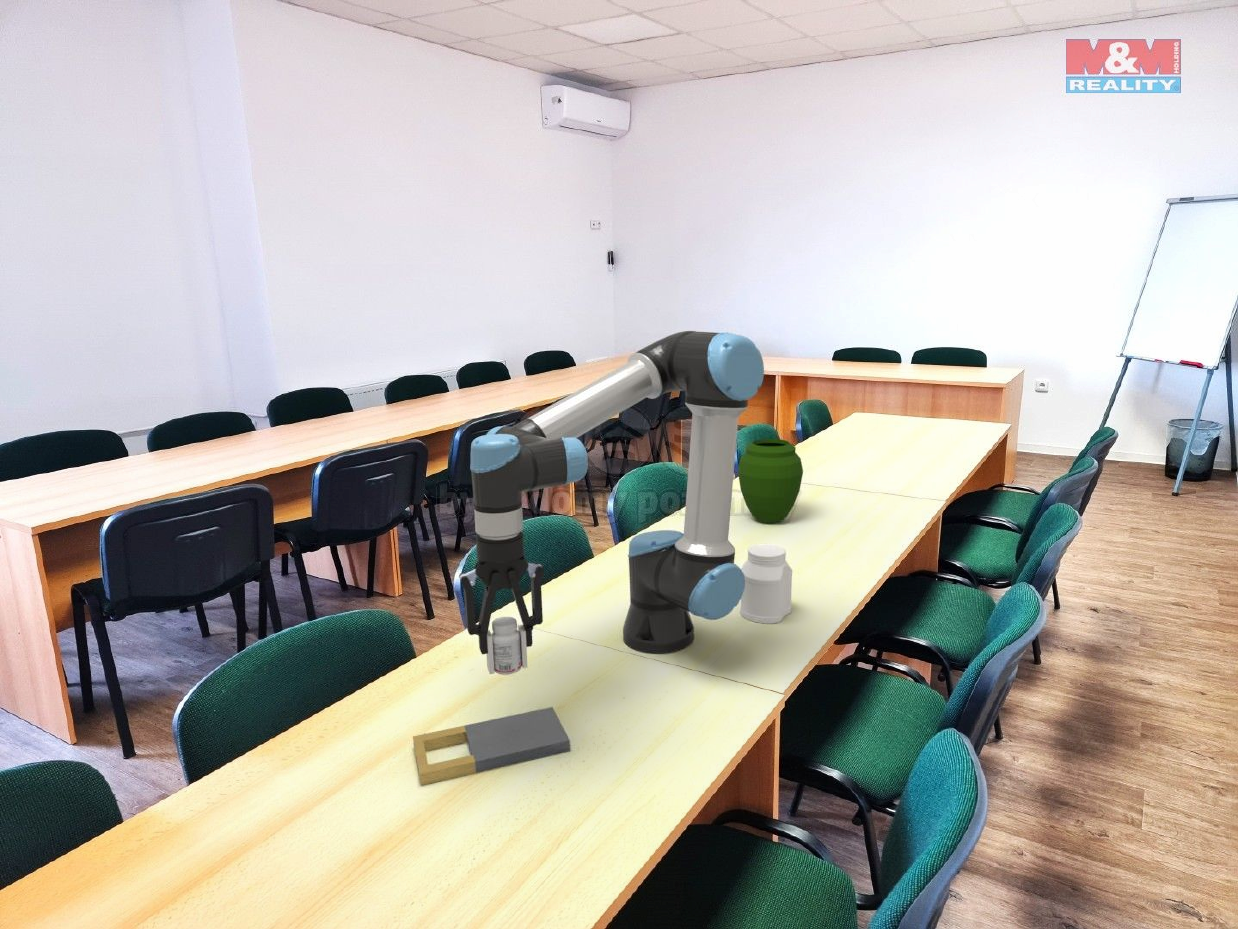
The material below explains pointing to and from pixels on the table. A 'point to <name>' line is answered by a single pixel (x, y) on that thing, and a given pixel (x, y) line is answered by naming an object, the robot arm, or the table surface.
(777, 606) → the jar
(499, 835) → the table surface
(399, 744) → the table surface
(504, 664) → the pill bottle
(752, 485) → the vase
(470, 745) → the flat tray
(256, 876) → the table surface
